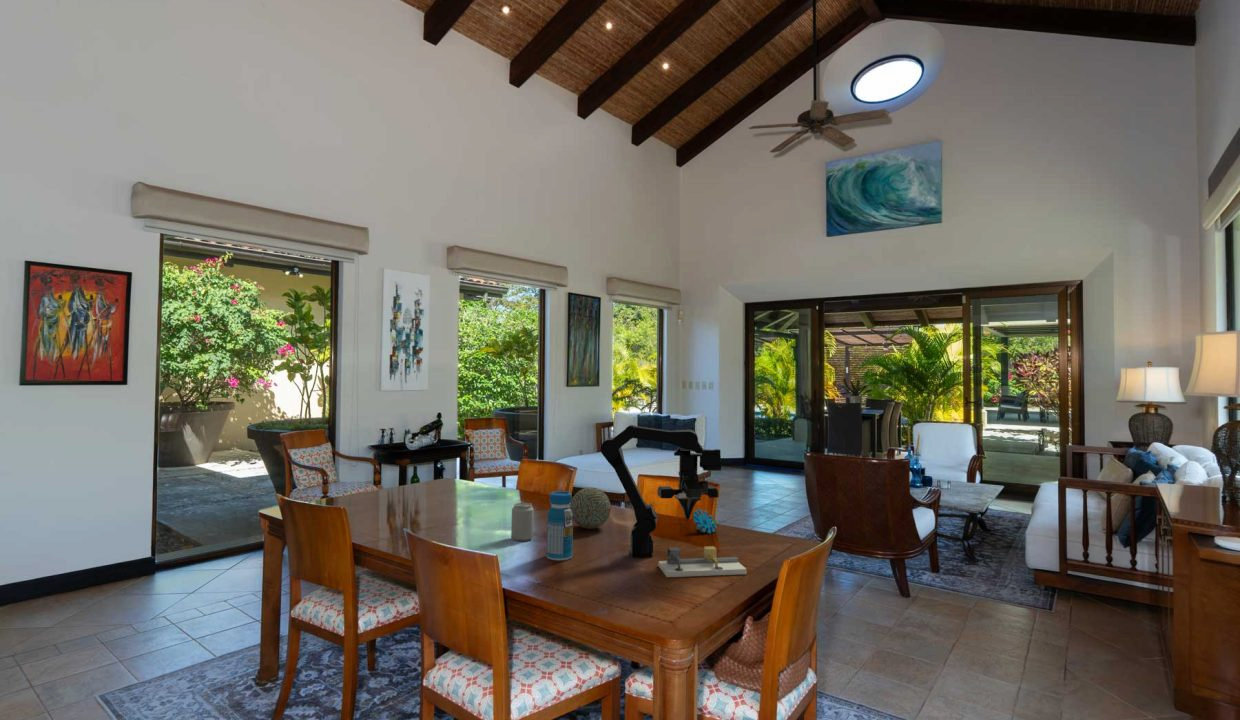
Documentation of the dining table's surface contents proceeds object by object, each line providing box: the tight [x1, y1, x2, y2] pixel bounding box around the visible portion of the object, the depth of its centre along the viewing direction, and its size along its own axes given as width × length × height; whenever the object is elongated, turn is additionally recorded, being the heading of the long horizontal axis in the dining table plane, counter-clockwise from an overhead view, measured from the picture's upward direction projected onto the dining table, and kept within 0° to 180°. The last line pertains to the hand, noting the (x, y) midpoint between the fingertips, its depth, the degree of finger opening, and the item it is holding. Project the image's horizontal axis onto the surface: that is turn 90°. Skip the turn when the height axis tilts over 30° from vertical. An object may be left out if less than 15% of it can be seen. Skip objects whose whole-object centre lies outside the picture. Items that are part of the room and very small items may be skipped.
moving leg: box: [703, 545, 718, 567], centre depth 189 cm, size 3×8×4 cm, turn 10°
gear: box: [692, 508, 718, 535], centre depth 234 cm, size 11×6×10 cm
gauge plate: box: [658, 560, 747, 578], centre depth 189 cm, size 24×10×2 cm, turn 100°
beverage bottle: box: [545, 490, 575, 562], centre depth 198 cm, size 8×8×20 cm
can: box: [510, 502, 535, 542], centre depth 218 cm, size 8×8×12 cm
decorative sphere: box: [569, 486, 611, 530], centre depth 234 cm, size 15×15×15 cm
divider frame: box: [666, 546, 739, 568], centre depth 189 cm, size 22×8×4 cm, turn 100°
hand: (687, 519), depth 201 cm, fingers closed
